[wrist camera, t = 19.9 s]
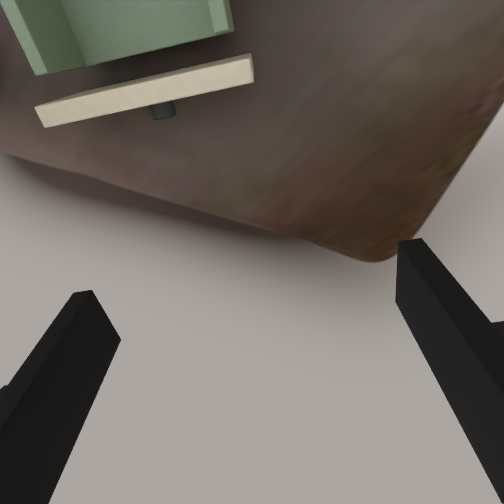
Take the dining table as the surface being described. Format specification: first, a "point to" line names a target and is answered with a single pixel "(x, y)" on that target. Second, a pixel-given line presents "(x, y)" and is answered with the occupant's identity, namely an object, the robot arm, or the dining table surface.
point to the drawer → (123, 50)
